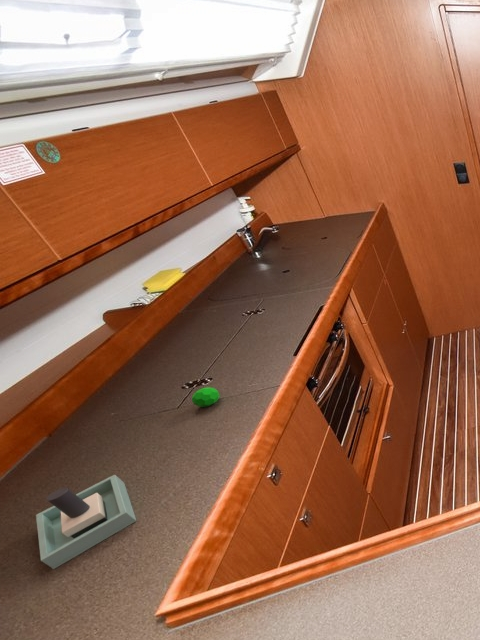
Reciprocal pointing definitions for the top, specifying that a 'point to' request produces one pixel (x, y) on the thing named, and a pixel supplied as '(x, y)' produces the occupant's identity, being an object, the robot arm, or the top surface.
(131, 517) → the tray
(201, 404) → the polyhedron
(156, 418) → the top surface
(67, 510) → the brush
